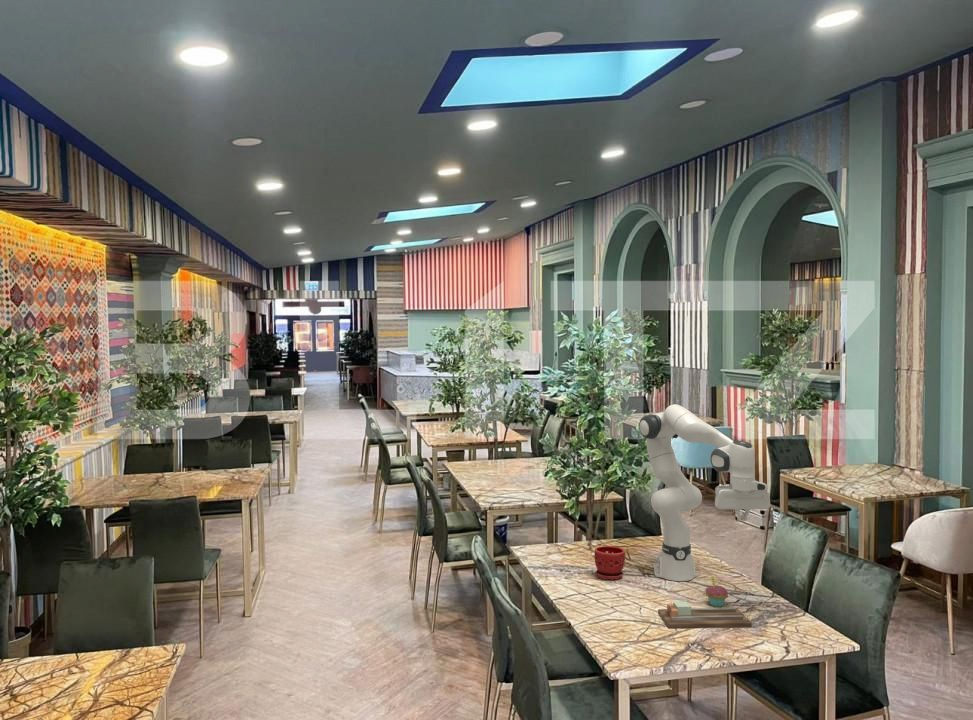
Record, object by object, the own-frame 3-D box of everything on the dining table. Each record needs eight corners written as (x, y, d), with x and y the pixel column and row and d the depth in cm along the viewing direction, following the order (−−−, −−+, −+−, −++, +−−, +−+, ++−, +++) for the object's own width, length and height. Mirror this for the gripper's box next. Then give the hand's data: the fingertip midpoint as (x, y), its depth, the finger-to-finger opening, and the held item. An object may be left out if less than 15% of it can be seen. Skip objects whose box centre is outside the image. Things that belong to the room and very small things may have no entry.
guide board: (658, 613, 268) (658, 600, 268) (737, 612, 269) (737, 598, 269) (668, 628, 255) (668, 614, 254) (751, 627, 255) (751, 613, 255)
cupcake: (713, 609, 272) (713, 578, 271) (700, 601, 280) (700, 571, 280) (732, 607, 274) (732, 576, 274) (719, 599, 282) (720, 569, 282)
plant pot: (627, 581, 304) (627, 553, 303) (596, 581, 304) (596, 553, 303) (622, 571, 317) (622, 544, 316) (592, 571, 317) (592, 544, 317)
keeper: (673, 613, 264) (673, 601, 264) (686, 613, 264) (686, 601, 264) (677, 619, 259) (677, 606, 259) (691, 618, 259) (691, 606, 259)
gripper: (718, 486, 267) (718, 522, 268) (772, 485, 268) (771, 522, 268) (712, 482, 274) (712, 518, 274) (765, 482, 274) (764, 517, 275)
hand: (742, 520), depth 271 cm, fingers closed
